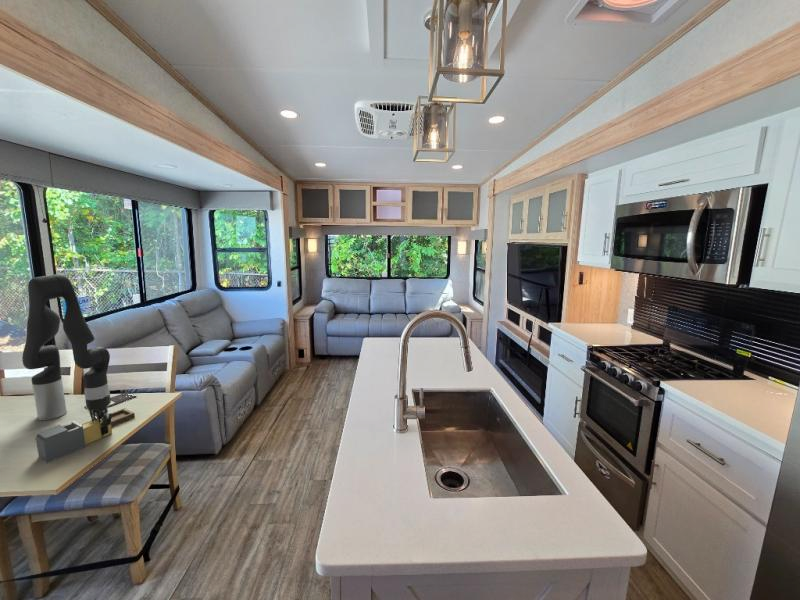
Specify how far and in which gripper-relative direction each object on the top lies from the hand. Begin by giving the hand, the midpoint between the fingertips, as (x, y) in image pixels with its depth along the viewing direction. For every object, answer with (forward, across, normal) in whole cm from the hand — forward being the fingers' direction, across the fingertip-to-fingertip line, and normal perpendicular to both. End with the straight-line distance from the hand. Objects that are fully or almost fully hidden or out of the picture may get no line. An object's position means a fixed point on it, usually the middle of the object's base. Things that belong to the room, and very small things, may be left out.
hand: (102, 432), depth 139 cm
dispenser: (+1, 0, -12) cm, 12 cm away
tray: (+1, -9, +5) cm, 10 cm away
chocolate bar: (+2, -29, +16) cm, 33 cm away
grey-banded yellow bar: (+1, 0, -4) cm, 4 cm away
